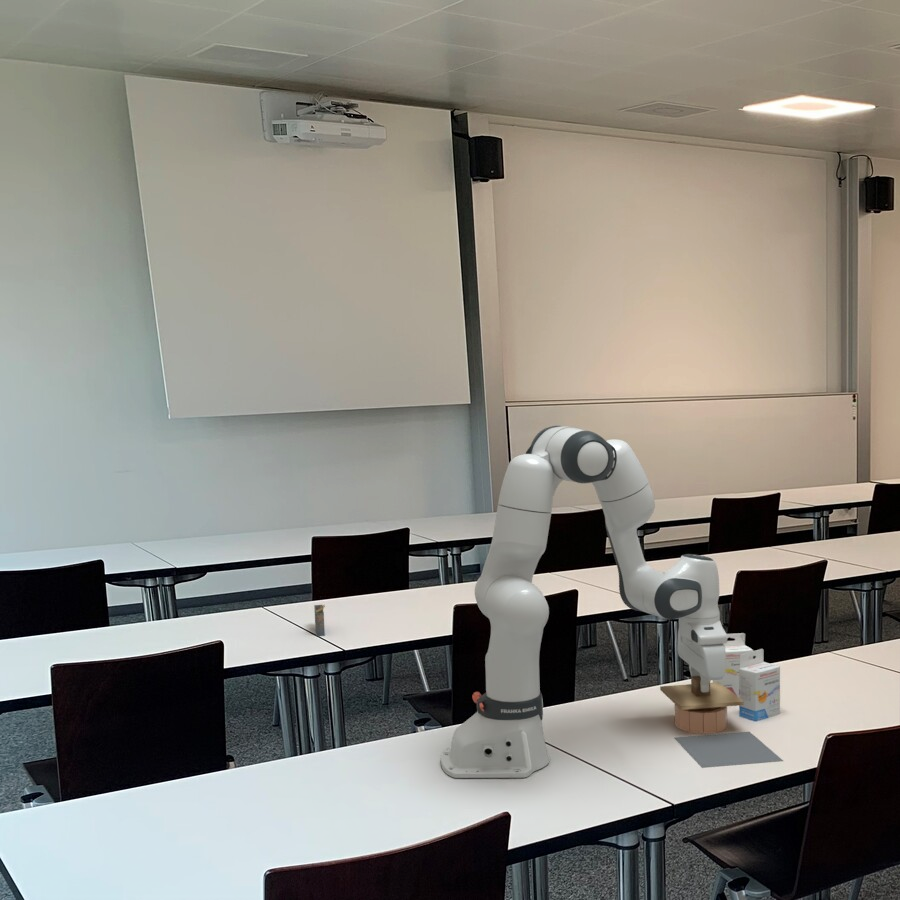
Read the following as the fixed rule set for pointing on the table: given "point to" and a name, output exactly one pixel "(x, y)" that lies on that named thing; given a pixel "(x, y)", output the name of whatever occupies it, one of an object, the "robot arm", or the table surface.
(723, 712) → the terracotta bowl
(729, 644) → the ink cartridge box
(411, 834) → the table surface
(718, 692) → the oak cover
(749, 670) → the ink box
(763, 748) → the rubber mat
